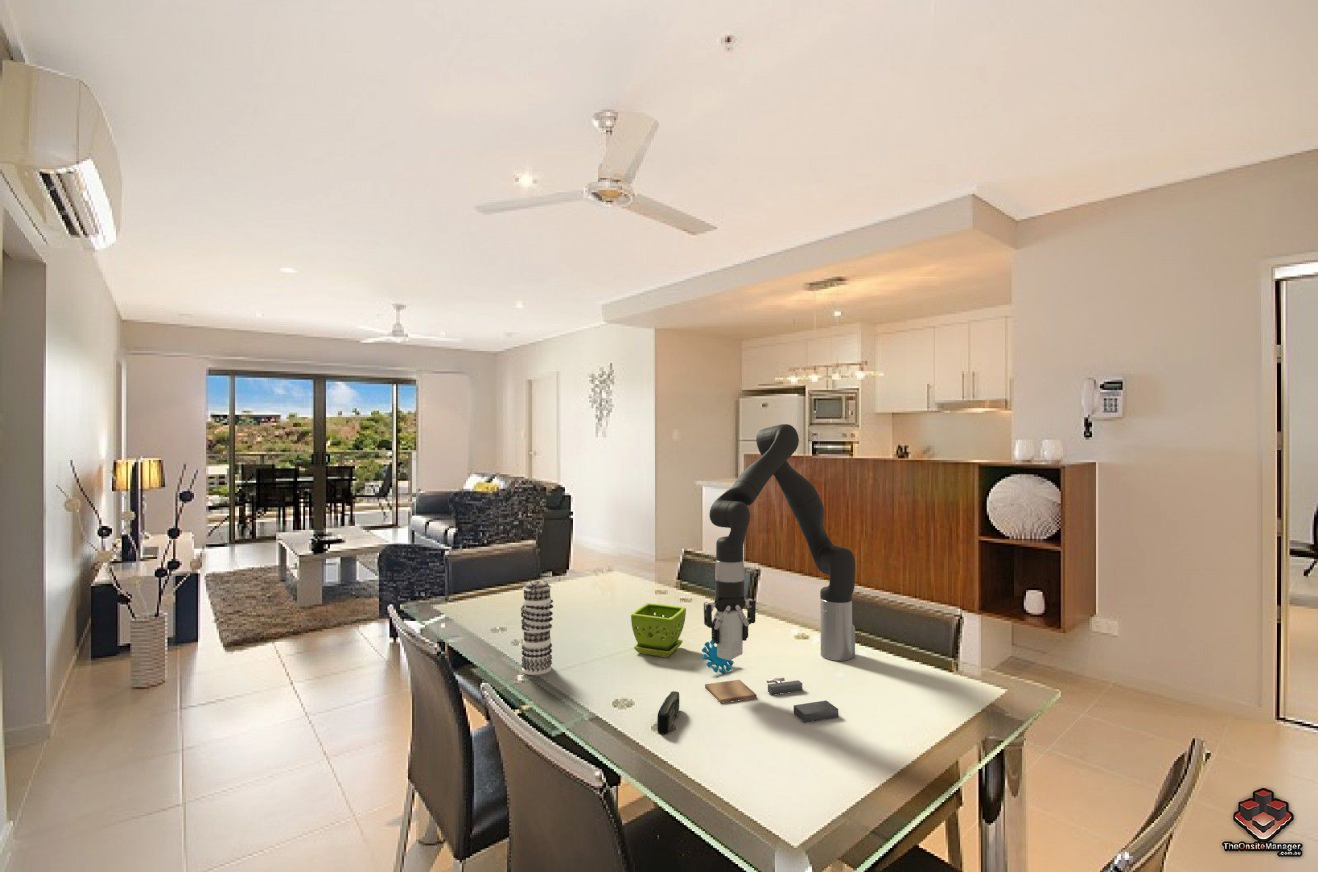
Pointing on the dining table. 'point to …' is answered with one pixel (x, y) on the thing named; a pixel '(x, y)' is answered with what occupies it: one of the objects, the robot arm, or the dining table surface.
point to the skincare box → (730, 636)
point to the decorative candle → (536, 628)
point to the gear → (715, 658)
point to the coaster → (730, 691)
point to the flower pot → (658, 628)
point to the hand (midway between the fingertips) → (729, 641)
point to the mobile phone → (668, 712)
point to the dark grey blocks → (804, 711)
